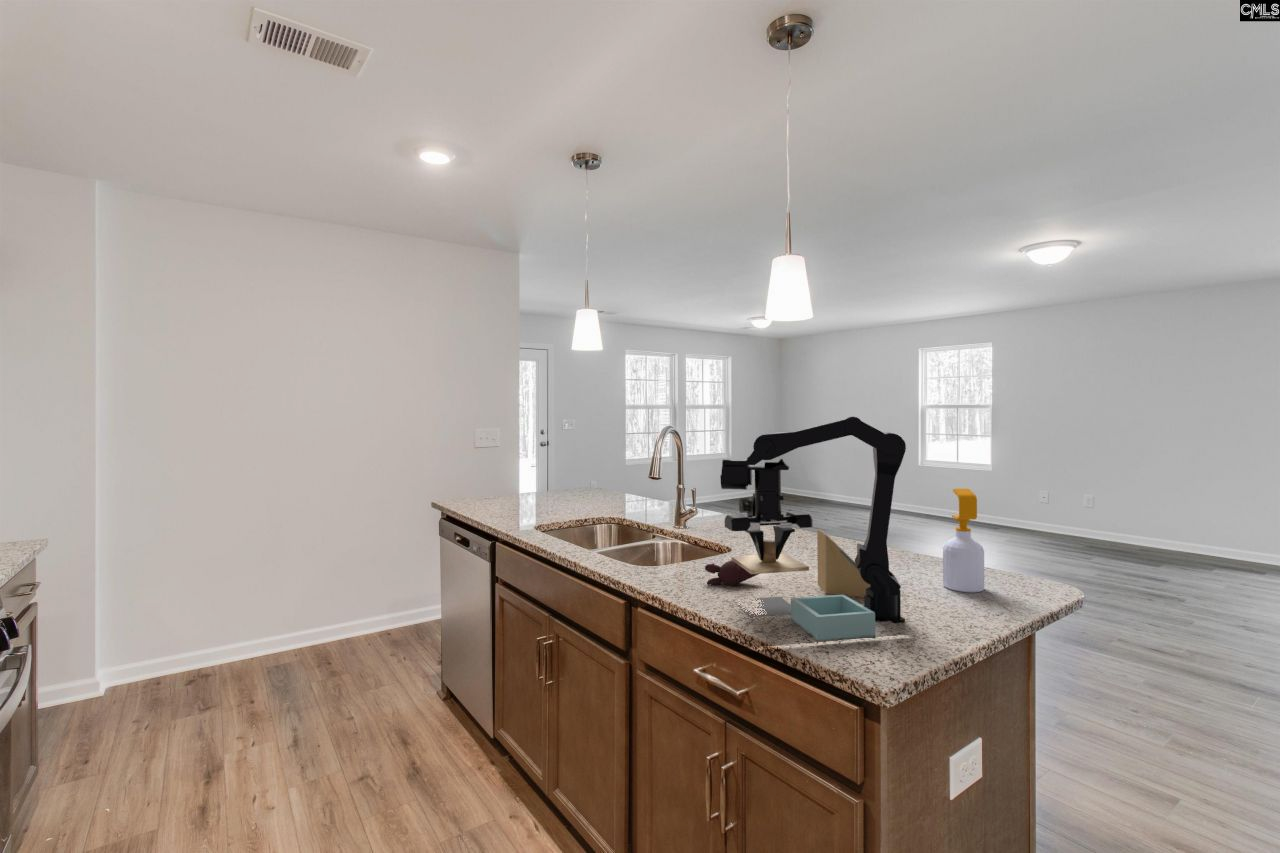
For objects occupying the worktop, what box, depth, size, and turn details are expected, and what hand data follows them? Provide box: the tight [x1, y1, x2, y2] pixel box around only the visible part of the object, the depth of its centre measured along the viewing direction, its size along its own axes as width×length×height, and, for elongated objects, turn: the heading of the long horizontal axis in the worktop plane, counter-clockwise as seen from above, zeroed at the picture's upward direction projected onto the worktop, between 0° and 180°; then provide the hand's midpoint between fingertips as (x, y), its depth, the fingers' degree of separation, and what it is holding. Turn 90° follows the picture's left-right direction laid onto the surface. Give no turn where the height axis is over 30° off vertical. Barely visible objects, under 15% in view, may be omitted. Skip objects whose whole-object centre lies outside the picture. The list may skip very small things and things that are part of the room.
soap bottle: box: [942, 488, 985, 594], centre depth 148 cm, size 9×9×25 cm
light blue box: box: [790, 594, 876, 641], centre depth 121 cm, size 12×12×5 cm
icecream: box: [704, 559, 759, 587], centre depth 152 cm, size 7×7×15 cm
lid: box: [731, 539, 810, 575], centre depth 133 cm, size 13×13×5 cm
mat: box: [737, 596, 791, 618], centre depth 134 cm, size 12×12×1 cm
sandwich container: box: [816, 528, 870, 597], centre depth 147 cm, size 9×15×15 cm, turn 87°
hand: (768, 559), depth 133 cm, fingers closed on lid, 3 cm apart
